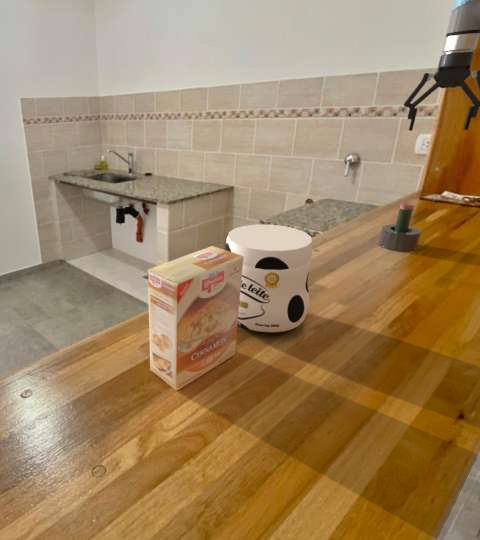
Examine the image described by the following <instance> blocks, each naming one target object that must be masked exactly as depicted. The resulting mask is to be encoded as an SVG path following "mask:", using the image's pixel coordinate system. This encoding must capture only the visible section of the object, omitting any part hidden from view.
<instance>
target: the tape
mask: <svg viewBox="0 0 480 540" xmlns="http://www.w3.org/2000/svg"><path fill="white" fill-rule="evenodd" d="M395 226H396V224H386V225H383V226H381V230H380V235H379V239H378V246H380V247H381V248H383V249H386V250H390V251H396V252H413V251H415V250H417V248H418V245H419V241H420V237H421V235H422V230H421V229H419V228H417V227H415V226H411V225H409V227H408V231H407V232H397V231H394V230H395Z"/></svg>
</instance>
